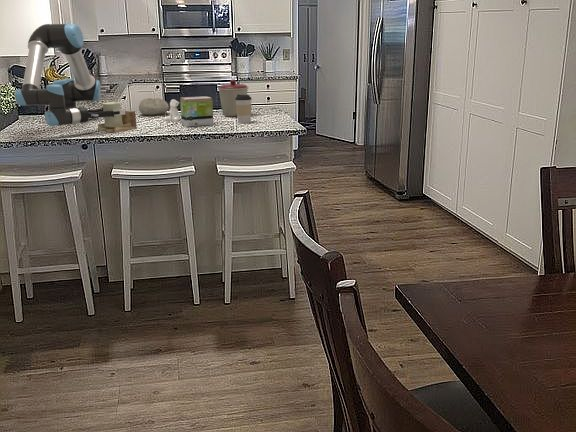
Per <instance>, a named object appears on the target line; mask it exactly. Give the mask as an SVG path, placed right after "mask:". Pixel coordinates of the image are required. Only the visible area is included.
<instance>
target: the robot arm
mask: <svg viewBox="0 0 576 432" xmlns="http://www.w3.org/2000/svg"><path fill="white" fill-rule="evenodd" d="M83 46H84V36H83V31H82V29H81V27H80V26H79V25H77V24H75V23H69V22H68V23H47V24H46V23H45V24H42V25H40V26H38V27H37V28H36V29H35V30H34V31H33V32H32V33H31V34H30V37H29V39H28V42H27V49H28V54H27V60H26V64H25V65H26V66H25V70H24V74H23V75H24V76H23V82H22V87H21V88H20V89H16V91H15V92H14V100H15V102H16V104H17V105H19V106H26V107H28V106H48V110H46V111H45V112H44V120H45V122H46V125H48V126H49V127H55V126H56V127H57V126H66V125H73V126H75V125H76V124H79V123H80V124H82V123H87V122H89V119H99V118H104V117H111V116H113V117H114V116H116V115H125V110H126V109H125V108H121V109H120V110H112V111H103V106H102V107H101V108H94V109H87V108H86V107H85V106H83V107H77V102H97V101H99V100H100V99H101V91H102V89H101V88H102V87H101V80H99V79H95V77H94V76H93V75H92V74H90V71H89V68H88V66H87V62H86V59H85V58H84V55H83V53H82V47H83ZM55 48H56V49H58V50H59V52H61V54H63V55H64V57H65V59H66V61H67V64H68V65H69V68H70V70H71V73H72V75H73V77H74V79H73V78H72V77H70V78H62V79H58V80H54V81H52V83H51V84H47V85H46V86H45V88H40V86H41V85H40V84H41V79H42V75H43V69H44V63H45V58H46V54H47V53H48V51H49V49H55Z"/></svg>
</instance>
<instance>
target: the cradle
mask: <svg viewBox="0 0 576 432" xmlns="http://www.w3.org/2000/svg"><path fill="white" fill-rule="evenodd" d="M122 123H123V125H119V126H114V127H106V126H105V122H104V123H98V124H97V131H98V132H99V131H100V132H107V133H115V134H116V133H120V132H126V131H132V130H136V129H138V127H137V117H136V111H134V110H126V109H125V115H122Z"/></svg>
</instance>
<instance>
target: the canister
mask: <svg viewBox="0 0 576 432" xmlns="http://www.w3.org/2000/svg"><path fill="white" fill-rule="evenodd" d="M249 88H250V87H249V86H247V85H246V84H244V83H237V80H236V79H232V78H231V79H230V81H229V83H227V84H221V85H220V86H218V87H217V90H218V93H219V99H220V106H221V111H222V114H223V115H224V116H225V117H228V118H229V117H230V118H231V117H232V118H234V117H236V118H238V116H237V110H236V100H235V99H236V97H237V95H238V94H239V95H248V94H249V93H248V92H249Z"/></svg>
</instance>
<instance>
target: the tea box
mask: <svg viewBox="0 0 576 432" xmlns="http://www.w3.org/2000/svg"><path fill="white" fill-rule="evenodd" d="M213 101H214V100H213V97H210V96H207V95H205V96H201V95H200V96H186V97H185V96H184V97H183V96H182V97H179V105H180V121H181V123H180V124H181V125H182V126H185V127H186V128H188V127H189V128H190V127H201V126H213V125H214V107H213V106H214V105H213V103H214V102H213Z"/></svg>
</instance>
